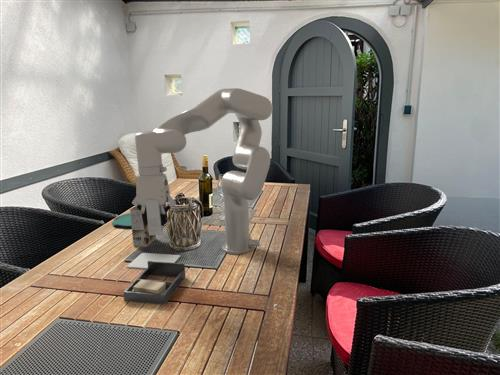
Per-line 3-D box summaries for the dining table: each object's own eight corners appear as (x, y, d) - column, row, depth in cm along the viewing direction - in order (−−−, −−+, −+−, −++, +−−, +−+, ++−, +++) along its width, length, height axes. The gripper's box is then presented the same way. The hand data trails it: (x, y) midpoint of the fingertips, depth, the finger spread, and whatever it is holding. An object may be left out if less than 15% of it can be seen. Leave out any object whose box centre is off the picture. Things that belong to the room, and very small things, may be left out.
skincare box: (151, 229, 126) (148, 195, 123) (164, 228, 126) (161, 194, 123) (148, 235, 120) (145, 200, 117) (161, 235, 120) (158, 200, 117)
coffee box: (147, 247, 151) (143, 209, 147) (133, 246, 152) (129, 209, 148) (157, 238, 160) (154, 203, 156) (143, 238, 161) (140, 202, 157)
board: (180, 256, 142) (180, 255, 142) (168, 270, 130) (168, 269, 130) (142, 253, 145) (142, 252, 145) (126, 267, 133) (126, 266, 133)
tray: (185, 276, 126) (184, 263, 124) (165, 304, 109) (163, 289, 108) (149, 274, 128) (148, 261, 127) (124, 300, 112) (122, 285, 111)
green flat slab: (124, 215, 193) (124, 210, 192) (180, 217, 189) (180, 213, 188) (105, 229, 174) (105, 224, 173) (166, 232, 170) (166, 227, 169)
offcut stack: (167, 294, 115) (166, 282, 114) (160, 303, 111) (159, 290, 110) (140, 291, 118) (139, 279, 117) (132, 298, 113) (130, 286, 112)
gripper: (180, 168, 120) (184, 221, 124) (131, 168, 123) (137, 219, 127) (171, 173, 113) (176, 229, 117) (120, 172, 115) (126, 227, 120)
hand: (155, 223), depth 122 cm, fingers closed on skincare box, 5 cm apart
